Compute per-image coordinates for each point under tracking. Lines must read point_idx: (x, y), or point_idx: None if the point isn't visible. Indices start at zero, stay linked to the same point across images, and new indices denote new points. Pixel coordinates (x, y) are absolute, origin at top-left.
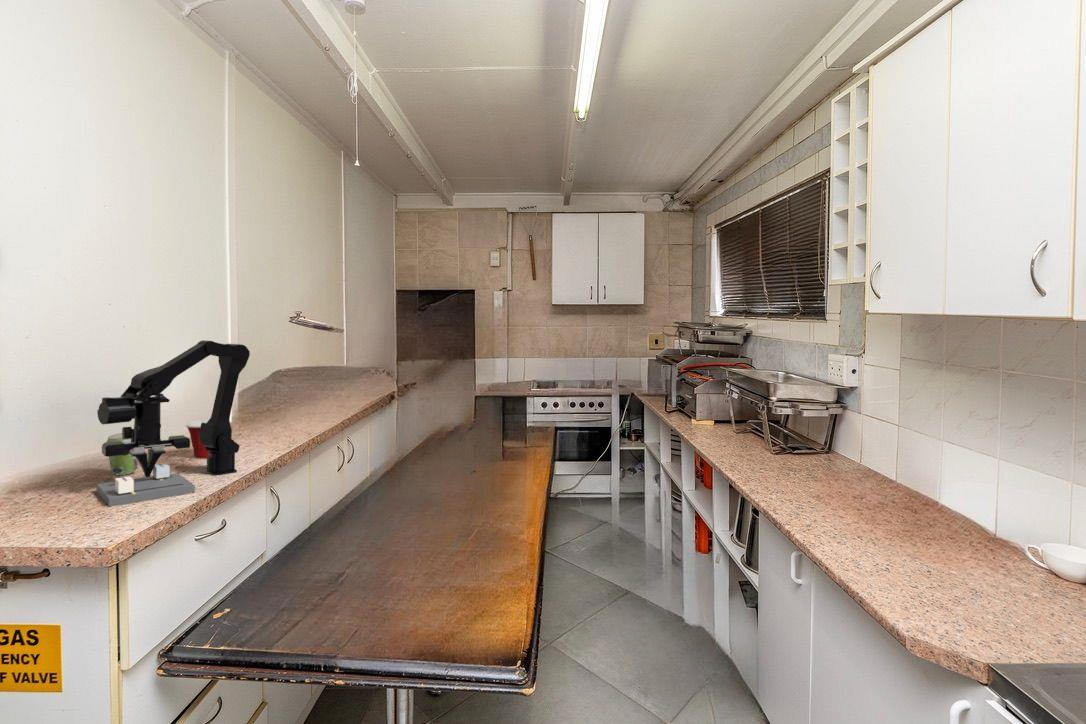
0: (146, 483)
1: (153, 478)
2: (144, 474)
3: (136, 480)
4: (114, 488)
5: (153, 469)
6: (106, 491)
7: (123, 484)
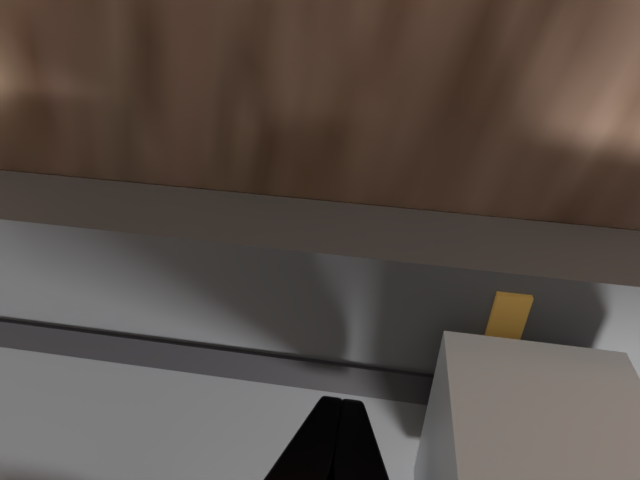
0: None
1: (418, 381)
2: (310, 412)
3: (240, 328)
4: (49, 448)
5: (444, 452)
6: (5, 476)
7: None
